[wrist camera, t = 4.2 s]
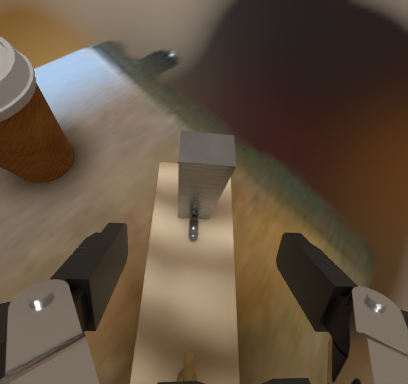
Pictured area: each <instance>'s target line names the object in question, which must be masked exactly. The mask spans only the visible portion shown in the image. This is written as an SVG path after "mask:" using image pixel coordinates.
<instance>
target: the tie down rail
mask: <svg viewBox="0 0 408 384" xmlns="http://www.w3.org/2000/svg"><path fill="white" fill-rule="evenodd" d="M189 220H190V218H181V217H178V163H168V162H160V167H159V174H158V181H157V189H156V196H155V203H154V211H153V218H152V226H151V233H150V240H149V248H148V255H147V262H146V270H145V277H144V285H143V292H142V299H141V307H140V314H139V321H138V329H137V336H136V344H135V351H134V358H133V366H132V373H131V380H130V384H157V383H158V382H180V381H198V382H202V383H205V384H240V377H239V354H238V332H237V310H236V288H235V266H234V243H233V221H232V199H231V177H230V179H229V181H228V183H227V185H226V187H225V189H224V191H223V193H222V195H221V197H220V199H219V201H218V203H217V205H216V207H215V209H214V211H213V213H212V215H211V217H210V219H199V218H198V238H197V240H195V241H191V240H190V239H189V237H188V234H189Z"/></svg>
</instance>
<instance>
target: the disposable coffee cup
mask: <svg viewBox="0 0 408 384" xmlns="http://www.w3.org/2000/svg"><path fill="white" fill-rule="evenodd" d="M73 160H74V152H73V150H72V148H71V146H70V145H69V143H68V141H67V139H66V137H65V135H64V133H63V131H62V130H61V128H60V126H59V124H58V122H57V120H56V119H55V117H54V115H53V113H52V111H51V109H50V107H49V106H48V103H47V102H46V100H45V98H44V96H43V94H42V92H41V91H40V89H39V87H38V85H37V83H36V78H35V72H34V69H33V66H32V64H31V63H30V61H29V60H28V59H27V58H26V57H25V55H23V54H21V53H20V52H18V51H17V50H15V49H14V48H13V47H12V46H11V45H10V44H9V43H8V42H7V41H6V40H4V39H3V38H2V37H0V167H1V168H4V169H6V170H8V171H11V172H12V173H14V174H16V175H18V176H20V177H22V178H24V179H26V180H29V181H32V182H47V181H51V180H54V179H56V178H58V177H60V176H61V175H63V174H64V173H65V172H66V171H68V170H69V168H70V167H71V165H72V163H73Z"/></svg>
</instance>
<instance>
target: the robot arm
mask: <svg viewBox="0 0 408 384" xmlns="http://www.w3.org/2000/svg"><path fill="white" fill-rule="evenodd" d="M127 255H128V239H127V225H126V224H125V223H108V224H107V226H106V227H105V228H104V230H103V231H102V232H101V233H94V234H92V235H91V236H89V237H87V238H86V239H85V240H84V241H83V242H82V243H81V244H80V245H79V248H77V249H76V250H75V251H74V252H73V255H71V256H70V257H69V258H68V259H67V260H66V261H65V263H64V264H63V265H62V266H61V267H60V268H59V269H58V270H57V272H56V273H55V274H54V275H53V276H52V277H51V278H50V280H46V281H42V282H39V283H36V284H34V285H32V286H30V287H28V288H26V289H24V290H23V291H22V292H20V293H19V294H18V295H17V296H16V297H15V298H14V299H13V300H12V301H11V302H7V303H2V304H0V384H100V383H99V380H98V377H97V373H96V370H95V366H94V363H93V360H92V356H91V353H90V349H89V346H88V343H87V339H86V336H85V334H84V331H96V329H97V327H98V325H99V322H100V320H101V318H102V316H103V313H104V311H105V309H106V307H107V304H108V302H109V300H110V298H111V295H112V293H113V291H114V289H115V286H116V284H117V282H118V280H119V277H120V275H121V273H122V271H123V268H124V266H125V264H126V261H127ZM276 263H277V267H278V270H279V271H280V273H281V275H282V276H283V278H284V280H285V281H286V283H287V285H288V286H289V288H290V290H291V291H292V293H293V295H294V296H295V298H296V300H297V301H298V303H299V305H300V306H301V308H302V310H303V311H304V313H305V315H306V316H307V318H308V320H309V321H310V323H311V325H312V326H313V328H314V330H315V331H316V332H329V333H330V335H331V337H330V339H329V342H328V369H327V384H408V312H406V311H403V310H400V309H399V308H398V307H397V306H396V305H395V304H394V303H393V302H392V301H390V300H389V299H388V298H387V297H385V296H383V295H382V294H380V293H378V292H376V291H374V290H372V289H369V288H365V287H358V286H357V285H356V284H355V283H354V282H353V281H352V280H351V279H350V278H349V277H348V276H347V275H346V274H345V273H344V272H343V271H342V270H341V269H340V268H339V267H338V266H337V265H335V264H334V262H333V261H332V260H331V259H329V258H328V256H327V255H325V254H324V253H323V252H322V251H321V250H320V249H319V248H317V247H316V246H314V245H312V244H311V243H310V242H309V241H308V240H307V239H306V238H305V237H304V236H303V235H302V234H300V233H284V234H283V236H282V239H281V243H280V247H279V250H278V254H277V258H276ZM157 384H205V383H202V382H198V381H180V382H158V383H157ZM262 384H310V382H309V379H308V378H288V379H272V380H269V381H267V382H265V383H262Z"/></svg>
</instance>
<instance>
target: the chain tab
mask: <svg viewBox="0 0 408 384" xmlns="http://www.w3.org/2000/svg"><path fill="white" fill-rule="evenodd" d="M235 167H236V159H235V142H234V136H232V135H222V134H212V133H202V132H193V131H183V130H181V139H180V150H179V163H178V217H181V218H190V220H189V234H188V237H189V239H190V240H191V241H195V240H197V238H198V218H199V219H210V217H211V215H212V213H213V211H214V209H215V207H216V205H217V203H218V201H219V199H220V197H221V195H222V193H223V191H224V189H225V187H226V185H227V183H228V181H229V179H230V177H231V175H232V173H233V171H234V169H235Z"/></svg>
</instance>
